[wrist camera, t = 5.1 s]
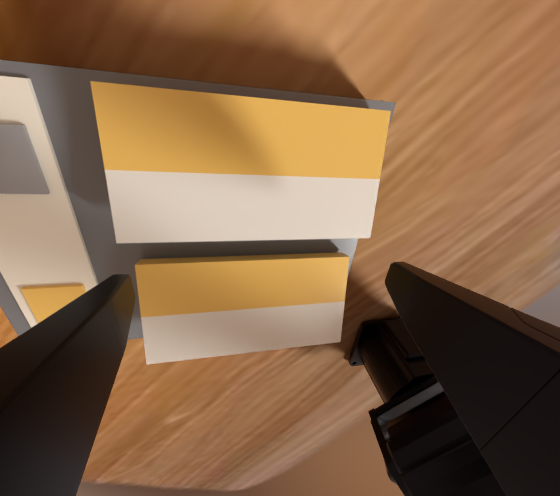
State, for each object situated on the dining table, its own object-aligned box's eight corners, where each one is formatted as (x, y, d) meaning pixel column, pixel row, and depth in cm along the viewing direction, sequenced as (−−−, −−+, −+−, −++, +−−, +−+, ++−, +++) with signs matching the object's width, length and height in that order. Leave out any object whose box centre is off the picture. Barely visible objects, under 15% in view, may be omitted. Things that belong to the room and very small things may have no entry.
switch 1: (360, 232, 15) (370, 237, 14) (124, 236, 12) (116, 243, 11) (378, 114, 13) (391, 111, 12) (101, 88, 10) (90, 81, 9)
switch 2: (334, 333, 19) (340, 342, 18) (150, 353, 16) (146, 364, 15) (342, 252, 17) (349, 256, 16) (140, 259, 14) (134, 264, 13)
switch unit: (322, 294, 23) (339, 326, 20) (51, 313, 19) (19, 358, 16) (366, 99, 16) (404, 103, 12) (-74, 52, 11) (-187, 39, 8)
